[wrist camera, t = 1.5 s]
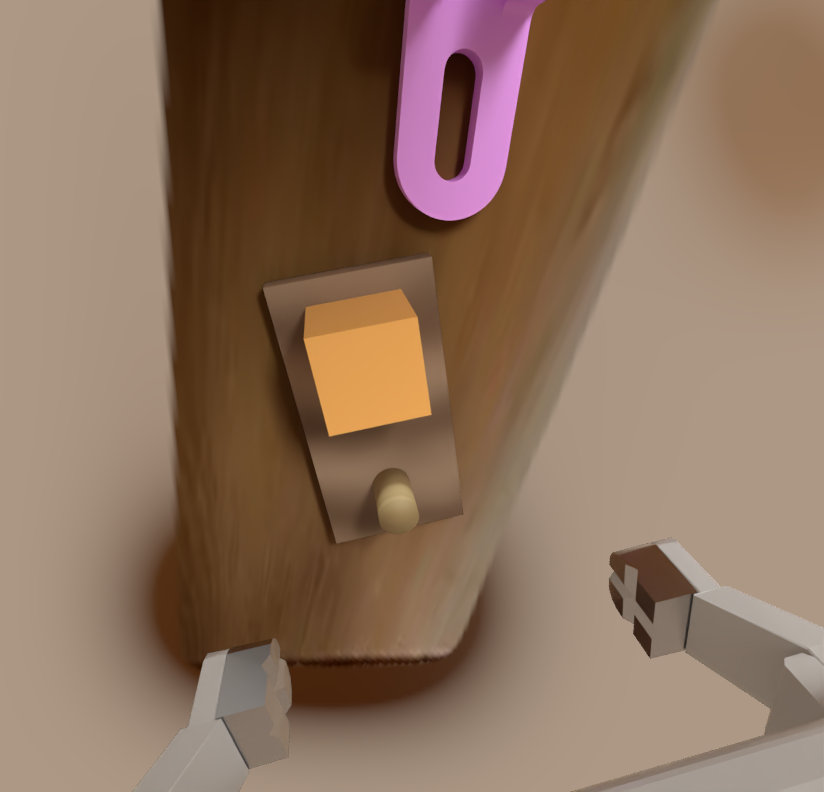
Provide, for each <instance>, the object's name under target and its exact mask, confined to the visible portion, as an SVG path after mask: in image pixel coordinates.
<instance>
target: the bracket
mask: <svg viewBox="0 0 824 792" xmlns="http://www.w3.org/2000/svg"><path fill="white" fill-rule="evenodd" d="M544 1H546V0H406V3H405V16H404V29H403V41H402V54H401V66H400V79H399V92H398V104H397V117H396V129H395V142H394V155H393V164H394V172H395V177H396V180H397V183H398V186H399V188H400V190H401V192H402V193H403V195H404V196H405V198H406V199H407V200H408V201H409V202H410V203H411V204H412V205H413V206H414V207H415V208H417V209H418V210H420V211H421V212H423V213H424V214H426V215H428V216H430V217H433V218H436V219H440V220H447V221H452V220H460V219H464V218H467V217H469V216H471V215H473V214H475V213H477V212H478V211H480V210H481V209H482V208H484V207H485V206H486V205H487V204H488V203H489V202H490V201H491V199H492V198H493V197H494V195H495V194H496V192H497V191H498V189H499V187H500V185H501V182H502V180H503V177H504V174H505V169H506V163H507V158H508V152H509V146H510V140H511V134H512V128H513V122H514V116H515V110H516V104H517V98H518V92H519V87H520V81H521V75H522V69H523V63H524V57H525V51H526V45H527V39H528V33H529V27H530V22H531V18H532V14H533V12H534V10H535V8H536V7H537V6H538V5H539V4H541V3H542V2H544ZM454 53H461V54H464V55H466V56H467V57H468V58H469V59H470V60H471V61H472V63H473V65H474V68H475V73H476V78H475V85H474V93H473V100H472V108H471V115H470V122H469V130H468V137H467V144H466V152H465V159H464V165H463V168H462V170H461V172H460V173H459V175H458V176H456V177H455V178H453V179H451V180H444V179H442V178H441V177H440V176H439V175H438V173H437V171H436V169H435V165H434V159H435V150H436V141H437V132H438V123H439V114H440V105H441V96H442V87H443V78H444V69H445V65H446V62H447V60H448V58H449V57H450V55H451V54H454Z"/></svg>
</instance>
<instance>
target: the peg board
mask: <svg viewBox="0 0 824 792" xmlns="http://www.w3.org/2000/svg"><path fill="white" fill-rule="evenodd" d="M398 289H401V290H402V292H403V293H404V295H405V297H406V298H407V300H408V302H409V303H410V305H411V307H412V308H413V310H414V312H415V313H416V315H417V317H418V324H419V331H420V338H421V345H422V352H423V358H424V365H425V372H426V379H427V386H428V393H429V400H430V407H431V414H432V415H428V416H423V417H419V418H414V419H409V420H405V421H400V422H395V423H391V424H386V425H381V426H377V427H372V428H367V429H362V430H358V431H353V432H348V433H344V434H339V435H334V436H330V437H329V434H328V430H327V426H326V422H325V419H324V415H323V411H322V407H321V403H320V399H319V396H318V392H317V388H316V384H315V380H314V377H313V373H312V369H311V365H310V361H309V358H308V354H307V350H306V346H305V342H304V326H305V311H306V307H309V306H314V305H319V304H324V303H330V302H335V301H340V300H346V299H351V298H356V297H361V296H367V295H372V294H377V293H382V292H388V291H393V290H398ZM263 291H264V294H265V298H266V301H267V305H268V308H269V311H270V315H271V318H272V322H273V325H274V329H275V332H276V336H277V339H278V343H279V346H280V350H281V353H282V356H283V360H284V363H285V367H286V370H287V374H288V377H289V381H290V384H291V388H292V391H293V395H294V398H295V401H296V405H297V408H298V412H299V415H300V419H301V422H302V426H303V429H304V433H305V436H306V439H307V443H308V446H309V450H310V453H311V457H312V460H313V464H314V467H315V471H316V474H317V478H318V481H319V484H320V488H321V491H322V495H323V498H324V502H325V505H326V509H327V512H328V516H329V519H330V522H331V526H332V529H333V533H334V536H335V540H336V543H337V544H338V543H342V542H346V541H351V540H355V539H359V538H364V537H368V536H372V535H376V534H381V533H385V532H388V533H391V534H402V533H405V532H408V531H410V530H411V529H412V528H414V527H415V525H420V524H424V523H428V522H432V521H437V520H441V519H445V518H450V517H454V516H458V515H463V507H462V499H461V491H460V483H459V475H458V467H457V458H456V450H455V442H454V434H453V426H452V418H451V410H450V401H449V393H448V385H447V377H446V369H445V361H444V352H443V344H442V336H441V328H440V320H439V312H438V303H437V295H436V287H435V279H434V271H433V263H432V257H431V256H430V255H429V254H428V253H422V254H417V255H412V256H406V257H401V258H395V259H390V260H384V261H379V262H373V263H368V264H363V265H357V266H352V267H346V268H341V269H335V270H330V271H325V272H319V273H314V274H308V275H303V276H297V277H292V278H287V279H281V280H276V281H270V282H265V283H264V286H263Z"/></svg>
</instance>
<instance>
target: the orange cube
mask: <svg viewBox="0 0 824 792" xmlns="http://www.w3.org/2000/svg"><path fill="white" fill-rule="evenodd" d="M304 342H305V346H306V350H307V354H308V358H309V361H310V365H311V369H312V373H313V377H314V380H315V384H316V388H317V392H318V396H319V399H320V403H321V407H322V411H323V415H324V419H325V422H326V426H327V430H328V434H329V437H330V436H334V435H339V434H344V433H348V432H353V431H358V430H362V429H367V428H372V427H377V426H381V425H386V424H391V423H395V422H400V421H405V420H409V419H414V418H419V417H423V416H428V415H432V414H431V407H430V400H429V393H428V386H427V379H426V372H425V365H424V358H423V352H422V345H421V338H420V331H419V324H418V317H417V315H416V313H415V312H414V310H413V308H412V307H411V305H410V303H409V302H408V300H407V298H406V297H405V295H404V293H403V292H402V290H401V289H398V290H393V291H388V292H382V293H377V294H372V295H367V296H361V297H356V298H351V299H346V300H340V301H335V302H330V303H324V304H319V305H314V306H309V307H306V311H305V326H304Z"/></svg>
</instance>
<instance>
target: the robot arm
mask: <svg viewBox="0 0 824 792" xmlns="http://www.w3.org/2000/svg"><path fill="white" fill-rule="evenodd" d="M610 566H611V567H612V569H613V570H614V572H613V574H612V575H611V576H610V578H609V589H610V593H611V597H612V600H613V602H614V604H615V606H616V608H617V610H618V612H619V613H620V615H621V616H622V618H624V619H626V620H627V621H629V622H631V623H633V624H634V630H633V634H634V636H635V637H636V639H637V640H638V641H639V643H640V644H641V646H642V647H643V649H644V650H645V652H646V653H647V655H648V656H649V657H650V658H655V657H659V656H663V655H667V654H671V653H676V652H680V651H684V650H686V651H685V652H686V653H687V654H689V655H690V656H692V657H693V658H695V659H697V660H698V661H699V662H701V663H702V664H704V665H705V666H707V667H708V668H710V669H711V670H713V671H714V672H716V673H717V674H719V675H720V676H722V677H723V678H725V679H726V680H728V681H729V682H731V683H733V684H734V685H736V686H737V687H739V688H740V689H742V690H743V691H745V692H746V693H748V694H749V695H751V696H752V697H754V698H755V699H757V700H758V701H760V702H761V703H763V704H764V705H766V706H767V707H769V708H770V713H769V717H768V721H767V724H766V727H765V734H764V735H763V736H760V737H756V738H753V739H749V740H746V741H743V742H739V743H736V744H733V745H729V746H726V747H722V748H719V749H716V750H712V751H709V752H705V753H702V754H699V755H695V756H692V757H688V758H685V759H682V760H678V761H674V762H671V763H668V764H664V765H661V766H657V767H654V768H651V769H647V770H644V771H640V772H637V773H633V774H630V775H626V776H623V777H620V778H616V779H613V780H609V781H606V782H603V783H599V784H596V785H592V786H589V787H585V788H582V789H579V790H575V791H572V792H824V628H823V627H821V626H818V625H816V624H814V623H811V622H809V621H807V620H805V619H802V618H800V617H798V616H795V615H793V614H791V613H788V612H786V611H784V610H782V609H779V608H777V607H775V606H772V605H770V604H768V603H765V602H763V601H761V600H759V599H756V598H754V597H752V596H750V595H747V594H745V593H743V592H740V591H738V590H736V589H734V588H731V587H729V586H723V587H721V586H720V585H718V583H717V582H716V581H715V580H714V579H713V578H712V577H711V576H710V575H709V574H708V573H707V572H706V571H705V570H704V569H703V568H702V567H701V566H700V565H699V564H698V563H697V562H696V561H695V560H694V559H693V557H691V555H689V553H688V552H687V551H686V550H685V549H684V548H683V547H682V546H681V545H680V544H679V543H678V542H677V541H676V540H674V539H672V538H668V539H664V540H660V541H656V542H652V543H647V544H643V545H639V546H636V547H632V548H628V549H624V550H621V551H617V552H613V553H612V554H611V556H610ZM291 698H292V691H291V678H290V673H289V669H288V666H287V664H286V661H285V660H283V659H281V658H280V646H279V644H278V642H277V640H276V639H269V640H264V641H260V642H255V643H251V644H246V645H242V646H237V647H233V648H229V649H225V650H221V651H216V652H212V653H208V654H207V656H206V657H205V659H204V661H203V664H202V669H201V673H200V678H199V682H198V686H197V690H196V695H195V698H194V703H193V707H192V711H191V715H190V720H189V724H188V727H186V728H183V729H181V730H180V731H179V732H178V733H177V735H176V736H175V737H174V738H173V740H172V741H171V742H170V744H169V745H168V746H167V748H166V749H165V750H164V751H163V753H162V754H161V756H160V757H159V758H158V759H157V761H156V762H155V763H154V764H153V766H152V767H151V768H150V770H149V771H148V772H147V773H146V775H145V776H144V777H143V779H142V780H141V781H140V782H139V784H138V785H137V787H136V788H135V789H134V790H133V792H239V791H240V789H241V787H242V785H243V783H244V781H245V779H246V777H247V776H248V774H249V770H248V769H251V768H254V767H258V766H261V765H264V764H267V763H271V762H274V761H277V760H280V759H284V758H287V757H288V755H289V738H290V724H289V721H288V719H287V717H286V713H287V711H288V709H289V708H290V706H291Z"/></svg>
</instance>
